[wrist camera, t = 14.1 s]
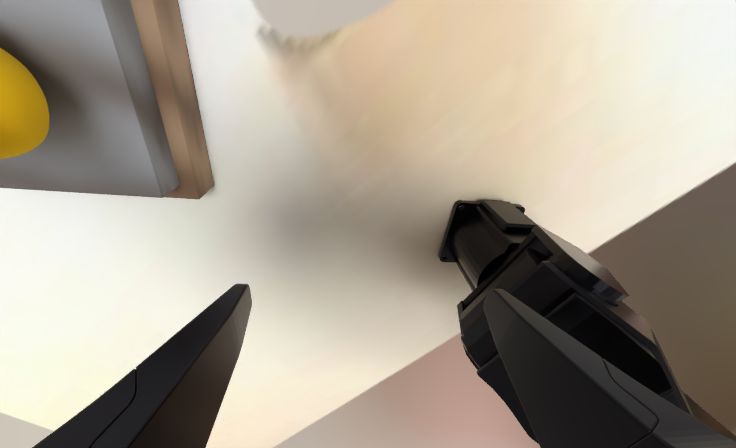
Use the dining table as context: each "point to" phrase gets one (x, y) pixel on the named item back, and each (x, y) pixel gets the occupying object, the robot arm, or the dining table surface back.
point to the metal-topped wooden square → (108, 98)
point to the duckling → (20, 109)
